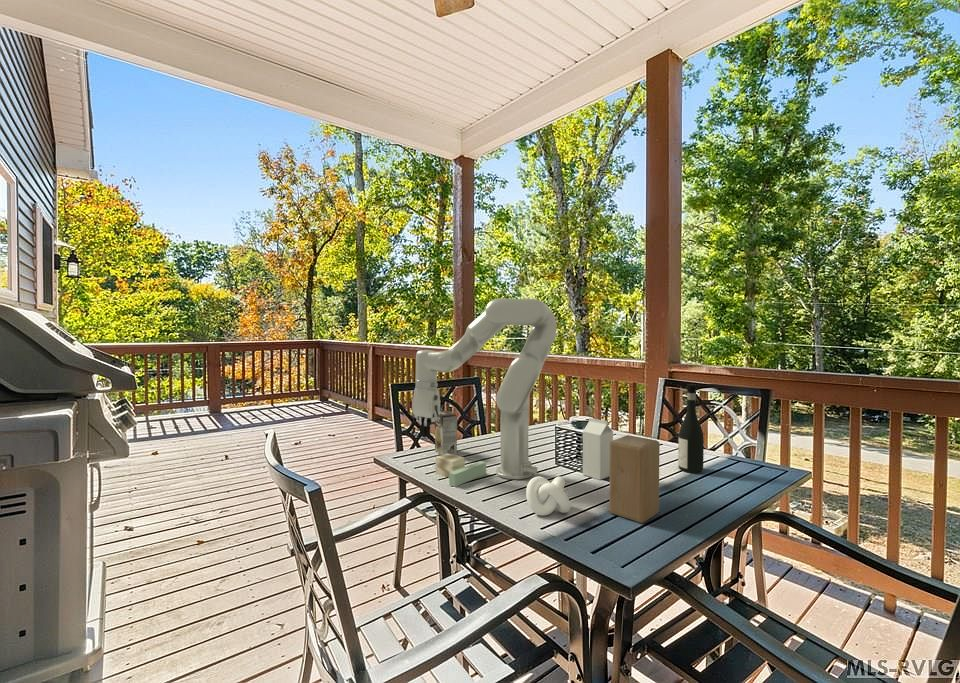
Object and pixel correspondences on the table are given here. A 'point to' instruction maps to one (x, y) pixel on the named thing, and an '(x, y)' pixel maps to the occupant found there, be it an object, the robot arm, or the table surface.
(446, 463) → the birch block
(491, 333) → the robot arm
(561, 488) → the white knot
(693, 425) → the wine bottle
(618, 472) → the wooden block
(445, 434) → the coffee box
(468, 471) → the board
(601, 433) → the milk carton
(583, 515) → the table surface
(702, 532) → the table surface
